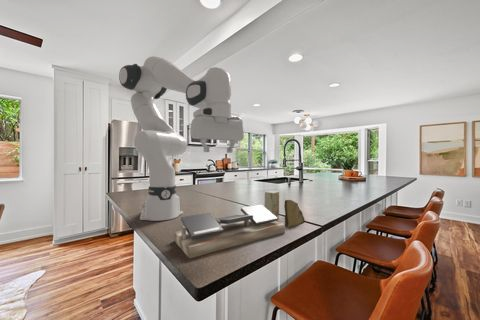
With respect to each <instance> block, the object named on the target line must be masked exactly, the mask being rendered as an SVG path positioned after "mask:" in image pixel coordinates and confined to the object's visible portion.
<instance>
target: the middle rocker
mask: <svg viewBox="0 0 480 320" xmlns="http://www.w3.org/2000/svg"><path fill="white" fill-rule="evenodd" d="M217 219H218V220H220V223H222V224H231V223H236V222H241V221H246V220H251V219H253V215H245V214H234V215H230V216H223V217H218V218H215V220H217Z"/></svg>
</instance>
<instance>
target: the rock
mask: <svg viewBox="0 0 480 320" xmlns="http://www.w3.org/2000/svg"><path fill="white" fill-rule="evenodd" d="M283 207H284V213H285V214H284V224H285V227H288V228H290V227H295V226H298V225H299V224H301V223H304V222H305V221H306V220H305V217H304V214H303V211H302V210H301V209H300V206H299V204H298V203H297V202H296V201H294V200H292V199H286V200H284V206H283Z"/></svg>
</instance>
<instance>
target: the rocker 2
mask: <svg viewBox="0 0 480 320" xmlns="http://www.w3.org/2000/svg"><path fill="white" fill-rule="evenodd" d="M240 212H242V214H243V215H245V214H246V215H253V219H251V221H252V222H253V223H254V224H255V225H256V226H257V225H261V224H266V223H270V222H275V221H278V220H279V218H277V217H276V216H275V215H273V214H272V213H271V212H270V211H269V210H267V209H266V208H265V205H263V204H256V205H249V206H248V205H247V206H243V207H241V208H240Z"/></svg>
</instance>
